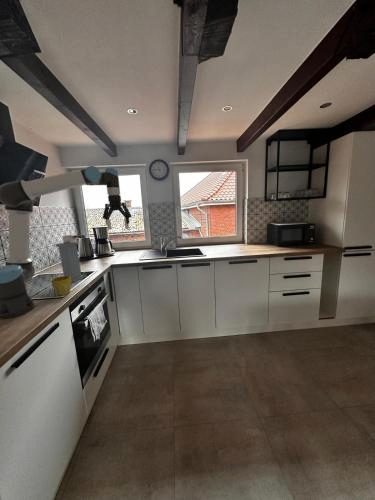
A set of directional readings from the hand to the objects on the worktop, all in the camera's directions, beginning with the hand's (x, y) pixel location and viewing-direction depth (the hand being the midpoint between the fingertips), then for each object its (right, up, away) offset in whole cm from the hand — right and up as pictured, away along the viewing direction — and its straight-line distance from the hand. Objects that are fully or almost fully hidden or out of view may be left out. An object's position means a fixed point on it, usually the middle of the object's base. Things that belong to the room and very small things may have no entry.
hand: (118, 229), depth 129 cm
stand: (-41, -35, +21) cm, 58 cm away
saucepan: (-35, -8, +13) cm, 38 cm away
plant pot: (-32, -40, -5) cm, 52 cm away
